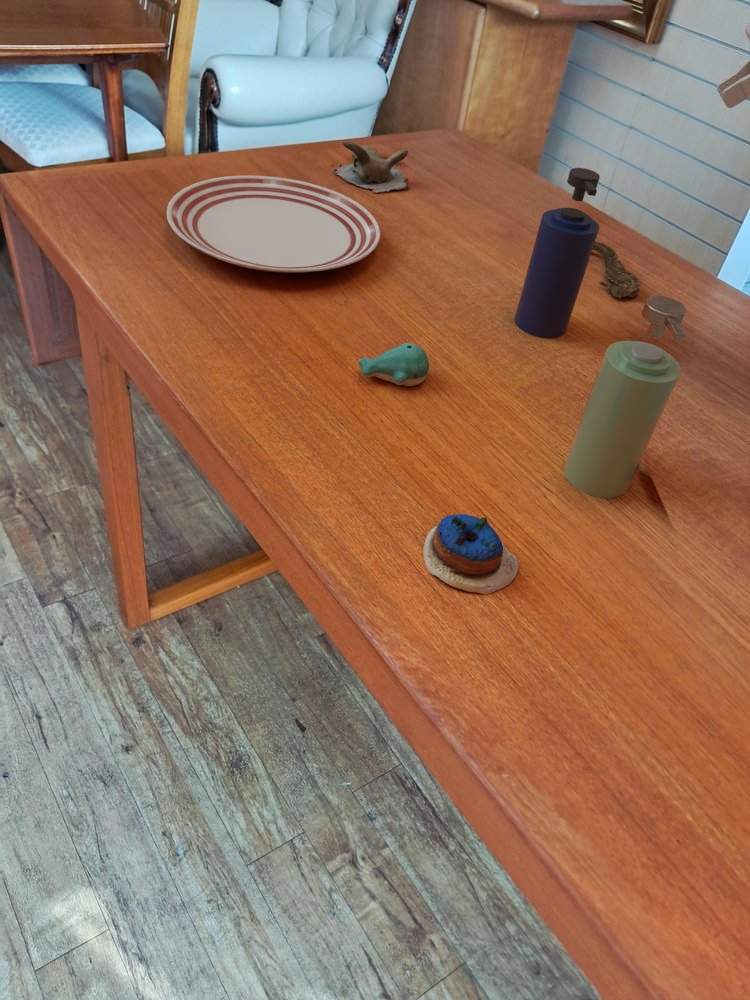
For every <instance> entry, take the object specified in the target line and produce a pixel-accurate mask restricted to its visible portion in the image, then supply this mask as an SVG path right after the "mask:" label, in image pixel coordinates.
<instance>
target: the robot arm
mask: <svg viewBox="0 0 750 1000" xmlns="http://www.w3.org/2000/svg"><path fill="white" fill-rule="evenodd" d="M744 32H745V34H746V37H747V40H748V43H750V23H748V25H747V26H746V27H745V29H744ZM716 90H717V92H718V95H719V96H720V99H721V100H722V102H723V103H724V105H725V106H726V108H728V109H732V108H734V107H736V106H738V105H740V104H741V103H742V102H744V101H746V100H749V99H750V57H748V58H746V60H745V61H744V62H743V63H742V64H741V65H740V66H739V67H738V68H736V70H735V71H734V72H733V73H732V74H731V75H729V76H728V77H725V79H723V80H722V81H720V82H719V83H718V84H717V86H716Z"/></svg>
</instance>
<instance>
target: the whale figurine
mask: <svg viewBox="0 0 750 1000" xmlns="http://www.w3.org/2000/svg"><path fill="white" fill-rule="evenodd" d="M357 364H358V366H359V367H360V369H361V371H360V374H361V376H362V377H364V378H371V377H376V378H378V379H380V380H382V381H385V382H388V383H392V384H395V385H397V386H404V387H414V386H418V385H420V384H421V383H423V382H424V381H425V380H426V379H427V376H428V373H429V369H430V361H429V357H428V355H427V353H426V352H425V350H424V349H423V348H422V347H420V346H419V345H417V344H415V343H412V342H405V343H402V344H401V343H400V344H399V345H398V346H397V345H396V346H395V347H393V348H390V349H388V350H386V351H384V352H382V353H381V354H380V355H378V356H376V357H375V358H371V357H362V358H360V359H358V362H357Z"/></svg>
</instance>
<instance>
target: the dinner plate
mask: <svg viewBox="0 0 750 1000" xmlns="http://www.w3.org/2000/svg"><path fill="white" fill-rule="evenodd" d="M166 218H167V222H168V224H169V226H170V228H171V229H172V231H173V232H174V233H175V234H176V235H177V236H178V237H179V238H181V239H182V240H183V241H184V242H185V243H187V244H188V245H190V246H191V247H193V248H195V249H196V250H198V251H199V252H202V253H204V254H206V255H208V256H210V257H212V258H214V259H217V260H220V261H223V262H225V263H229V264H231V265H235V266H239V267H242V268H247V269H251V270H257V271H262V272H263V271H264V272H275V273H309V272H310V273H311V272H321V271H328V270H334V269H340V268H342V267H346V266H350V265H352V264H354V263H357V262H359V261H361V260H363V259H365V258H366V257H368V256H369V255H371V254H372V253H373V251H374V250H376V248H377V247H378V245H379V243H380V240H381V229H380V226H379V223H378V221H377V220H376V218H375V217H374V216H373V214H371V213H370V212H369V210H368V209H366V208H365V207H364V206H363V205H362V204H360V203H358V202H357V201H356V200H354V199H352V198H350V197H348V196H346V195H344V194H342V193H339V192H338V191H336V190H332V189H330V188H327V187H325V186H321V185H318V184H315V183H310V182H307V181H304V180H303V181H302V180H297V179H292V178H285V177H280V176H279V177H278V176H268V175H267V176H266V175H227V176H219V177H214V178H209V179H205V180H201V181H198V182H195V183H193V184H190V185H188V186H186V187H184V188H182V189H181V190H180V191H178V192H176V194H175V195H174V196H173V197H172V198H171V199H170V201H169V202H168V204H167V207H166Z"/></svg>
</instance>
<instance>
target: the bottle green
mask: <svg viewBox="0 0 750 1000" xmlns="http://www.w3.org/2000/svg"><path fill="white" fill-rule="evenodd" d="M681 369H682V368H681V366H680V364H679V362H678V361H677V359H675V357H674V356H673V355H671V354H670V353H668V352H667V351H666V350H664V349H663V348H661V347H659V346H657V345H655V344H653V343H649V342H645V341H640V340H620V341H616V342H613V343H611V344H610V345H609V346H608V347H607V348H606V350H605V352H604V355H603V358H602V360H601V363H600V366H599V370H598V372H597V373H596V377H595V380H594V382H593V385H592V388H591V390H590V392H589V393H590V394H589V395H588V399H587V401H586V404H585V407H584V409H583V412H582V414H581V418H580V420H579V423H578V426H577V428H576V431H575V434H574V436H573V438H572V441H571V444H570V447H569V450H568V453H567V455H566V458H565V460H564V463H563V466H562V467H563V468H562V469H563V474H564V477H565V478H566V480H567V481H568V482H569V483H570V484H571V485H572V486H573V487H574V488H576V489H577V490H578V491H580V492H582V493H584V494H586V495H589V496H592V497H595V498H600V499H614V498H619V497H621V496H623V495H624V494H626V493H627V492H628V490H629V489H630V486H631V484H632V482H633V480H634V477H635V475H636V472H637V471H638V468H639V466H640V464H641V462H642V460H643V458H644V455H645V453H646V451H647V450H648V447H649V445H650V442H651V440H652V438H653V436H654V433H655V431H656V429H657V427H658V424H659V422H660V420H661V418H662V416H663V414H664V411H665V410H666V407H667V404H668V403H669V400H670V398H671V396H672V393H673V392H674V389H675V387H676V385H677V383H678V380H679V378H680V376H681V374H682V373H681V372H682V370H681Z"/></svg>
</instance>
